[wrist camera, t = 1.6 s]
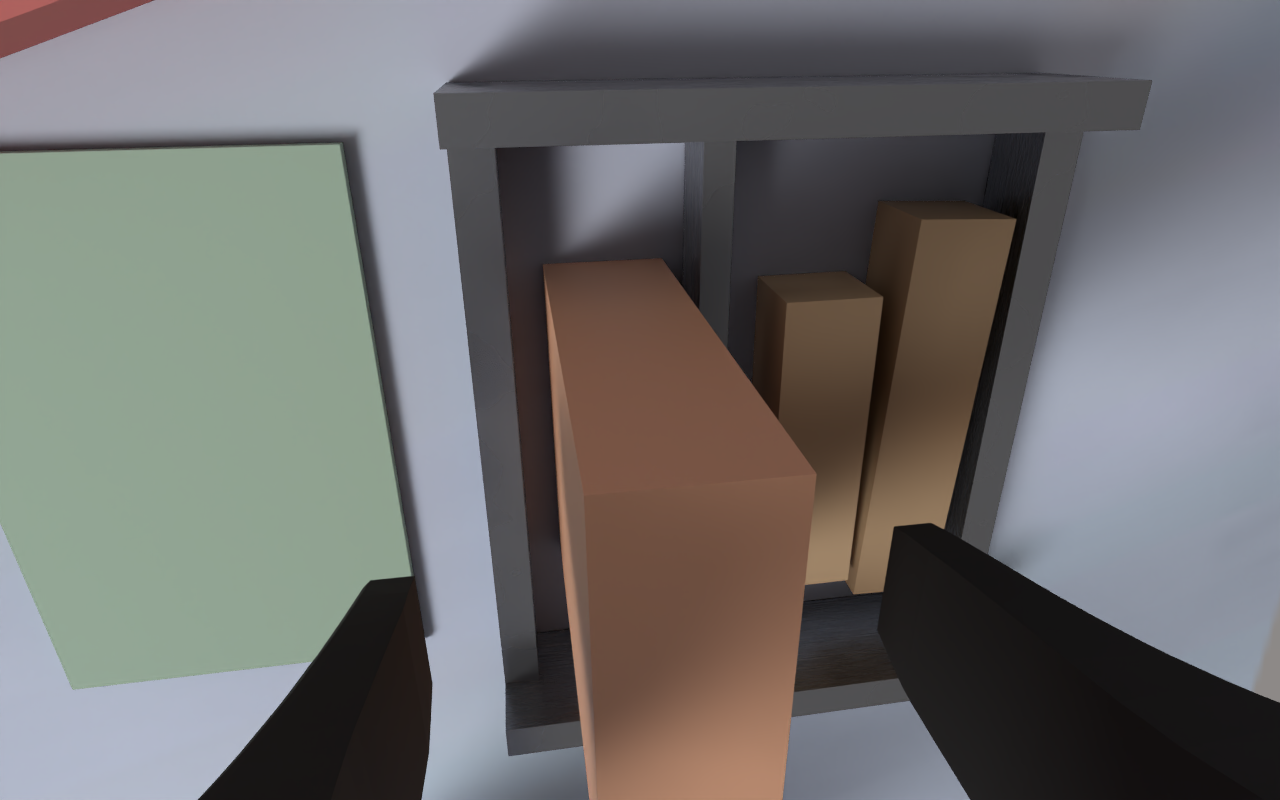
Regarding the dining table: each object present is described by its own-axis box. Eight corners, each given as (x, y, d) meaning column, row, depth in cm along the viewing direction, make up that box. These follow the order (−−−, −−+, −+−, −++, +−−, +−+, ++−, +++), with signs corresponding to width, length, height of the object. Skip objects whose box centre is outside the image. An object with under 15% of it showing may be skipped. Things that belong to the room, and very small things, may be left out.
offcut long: (890, 535, 21) (930, 587, 19) (819, 540, 21) (853, 594, 19) (957, 198, 17) (1016, 219, 15) (872, 197, 17) (921, 219, 15)
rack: (935, 608, 22) (995, 688, 19) (507, 660, 20) (508, 756, 17) (1042, 72, 16) (1152, 80, 13) (446, 82, 14) (433, 92, 11)
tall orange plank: (659, 533, 19) (772, 887, 11) (560, 542, 19) (602, 916, 11) (661, 258, 16) (816, 473, 8) (542, 264, 16) (584, 495, 8)
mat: (424, 640, 19) (423, 648, 19) (78, 680, 18) (72, 689, 18) (342, 142, 14) (339, 144, 14) (-145, 155, 13) (-159, 157, 13)
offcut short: (814, 527, 20) (847, 579, 18) (740, 535, 20) (766, 589, 18) (840, 267, 17) (883, 296, 15) (754, 272, 17) (787, 303, 15)
